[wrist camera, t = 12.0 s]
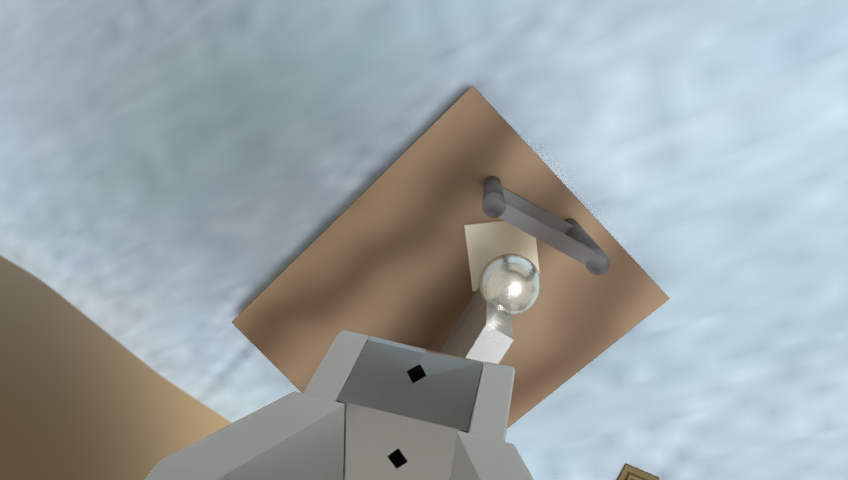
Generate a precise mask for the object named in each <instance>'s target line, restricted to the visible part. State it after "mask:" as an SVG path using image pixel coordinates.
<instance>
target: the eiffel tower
mask: <svg viewBox="0 0 848 480" xmlns="http://www.w3.org/2000/svg"><path fill="white" fill-rule="evenodd" d="M617 480H659V477H657V476H654V475H652V474H650V473H647V472H645V471H642V470H640V469H638V468H635V467H633V466H631V465H628V464H625V466H624V467H623V469H622V471H621V473H620V475H619V477H618V478H617Z"/></svg>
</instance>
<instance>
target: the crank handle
mask: <svg viewBox="0 0 848 480" xmlns="http://www.w3.org/2000/svg"><path fill="white" fill-rule="evenodd" d="M540 291H541V278H540V274H539V272H538V270H537V268H536V267H535V265H534V264H533V263H532V262H531V261H530V260H529V259H527V258H526V257H524V256H522V255H519V254H514V253H505V254H501V255H498V256H496V257H494V258H492V259H491V260H490V261H489V262H488V263H487V264H486V265H485V266H484V268H483V269H482V271H481V274H480V278H479V287H478V289H477V291H476V292H475V294H474V296H473V297H472V299H471V300H470V302H469V304H468V305H467V307H466V309H465V310H464V312H463V313H462V315H461V317H460V318H459V320H458V322H457V323H456V325H455V326H454V328H453V330H452V331H451V333H450V335H449V336H448V338H447V340H446V341H445V343H444V344H443V346H442V348H441V349H440V351H439V352H440V353H445V354H449V355H454V356H459V357H464V358H468V359H473V360H478V361H482V362H484V363H485V362H490V363H495V364H499V362H500V361H501V359H502V357H503V356H504V354H505V353H506V351H507V350H508V348H509V347H510V345H511V343H512V342H513V340H514V337H513V329H512V320H511V315H516V314H520V313H523V312H525V311H527V310H528V309H530V308H531V307H532V306H533V305H534V304H535V302H536V301H537V299H538V297H539V295H540ZM483 366H484V364H483Z"/></svg>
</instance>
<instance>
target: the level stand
mask: <svg viewBox="0 0 848 480" xmlns="http://www.w3.org/2000/svg"><path fill="white" fill-rule="evenodd" d="M505 253H514V254H519V255H522V256H524V257H526V258H527V259H529V260H530V261H531V262H532V263H533V264H534V265H535V267H536V268H537V270H538V272H539V274H540V278H541V291H540V295H539V297H538V299H537V301H536V302H535V304H534V305H533V306H532V307H531V308H530V309H528V310H527V311H525V312H523V313H520V314H516V315H511V320H512V329H513V337H514V340H513V342H512V343H511V345H510V347H509V348H508V350H507V351H506V353H505V354H504V356H503V357H502V359H501V361H500V362H499V364H501V365H506V366H511V367H514V370H515V375H514V382H513V389H512V396H511V402H510V409H509V416H508V422H507V428H508V427H510V426H511V425H512V424H513V423H515V422H516V421H517V420H518V419H520V418H521V417H522V416H523V415H525V414H526V413H527V412H528V411H530V410H531V409H532V408H533V407H535V406H536V405H537V404H538V403H540V402H541V401H542V400H543V399H545V398H546V397H547V396H548V395H550V394H551V393H552V392H553V391H555V390H556V389H557V388H558V387H560V386H561V385H562V384H563V383H565V382H566V381H567V380H568V379H570V378H571V377H572V376H573V375H575V374H576V373H577V372H579V371H580V370H581V369H582V368H584V367H585V366H586V365H587V364H589V363H590V362H591V361H592V360H594V359H595V358H596V357H597V356H599V355H600V354H601V353H602V352H604V351H605V350H606V349H607V348H609V347H610V346H611V345H612V344H614V343H615V342H616V341H617V340H619V339H620V338H621V337H622V336H624V335H625V334H626V333H627V332H629V331H630V330H631V329H632V328H634V327H635V326H636V325H637V324H639V323H640V322H641V321H642V320H644V319H645V318H646V317H647V316H649V315H650V314H651V313H652V312H654V311H655V310H656V309H657V308H659V307H660V306H661V305H662V304H664V303H665V302H666V301H667V300H669V299H670V298H669V297H668V296H667V295H666V294H665V293H664V292H663V291H662V290H661V289H660V288H659V286H658V285H657V284H656V283H655V282H654V281H653V280H652V279H651V278H650V277H649V276H648V275H647V273H646V272H645V271H644V270H643V269H642V268H641V267H640V266H639V265H638V264H637V263H636V262H635V260H634V259H633V258H632V257H631V256H630V255H629V254H628V253H627V252H626V251H625V250H624V249H623V247H622V246H621V245H620V244H619V243H618V242H617V241H616V240H615V239H614V238H613V237H612V236H611V234H610V233H609V232H608V231H607V230H606V229H605V228H604V227H603V226H602V225H601V224H600V223H599V221H598V220H597V219H596V218H595V217H594V216H593V215H592V214H591V213H590V212H589V211H588V210H587V209H586V207H585V206H584V205H583V204H582V203H581V202H580V201H579V200H578V199H577V198H576V197H575V196H574V194H573V193H572V192H571V191H570V190H569V189H568V188H567V187H566V186H565V185H564V184H563V183H562V181H561V180H560V179H559V178H558V177H557V176H556V175H555V174H554V173H553V172H552V171H551V170H550V168H549V167H548V166H547V165H546V164H545V163H544V162H543V161H542V160H541V159H540V158H539V157H538V155H537V154H536V153H535V152H534V151H533V150H532V149H531V148H530V147H529V146H528V145H527V144H526V142H525V141H524V140H523V139H522V138H521V137H520V136H519V135H518V134H517V133H516V132H515V131H514V130H513V128H512V127H511V126H510V125H509V124H508V123H507V122H506V121H505V120H504V119H503V118H502V117H501V115H500V114H499V113H498V112H497V111H496V110H495V109H494V108H493V107H492V106H491V105H490V104H489V102H488V101H487V100H486V99H485V98H484V97H483V96H482V95H481V94H480V93H479V92H478V91H477V89H476V88H475V87H474V86H472V87H471V88H470V89H469V90H468V91H467V92H466V93H465V94H464V95H463V96H462V97H461V98H460V99H459V100H458V101H457V102H456V103H454V104H453V105H452V106H451V107H450V108H449V109H448V110H447V111H446V112H445V113H444V114H443V115H442V116H441V117H440V118H439V119H438V120H437V121H436V122H435V123H434V124H433V125H432V126H431V127H430V128H429V129H428V130H427V131H426V132H425V133H424V134H423V135H422V136H421V137H420V138H419V139H418V140H417V141H416V142H415V143H414V144H413V145H412V146H411V147H410V148H409V149H408V150H407V151H406V152H405V153H404V154H402V155H401V156H400V157H399V158H398V159H397V160H396V161H395V162H394V163H393V164H392V165H391V166H390V167H389V168H388V169H387V170H386V171H385V172H384V173H383V174H382V175H381V176H380V177H379V178H378V179H377V180H376V181H375V182H374V183H373V184H372V185H371V186H370V187H369V188H368V189H367V190H366V191H365V192H364V193H363V194H362V195H361V196H360V197H359V198H358V199H357V200H356V201H355V202H354V203H353V204H352V205H350V206H349V207H348V208H347V209H346V210H345V211H344V212H343V213H342V214H341V215H340V216H339V217H338V218H337V219H336V220H335V221H334V222H333V223H332V224H331V225H330V226H329V227H328V228H327V229H326V230H325V231H324V232H323V233H322V234H321V235H320V236H319V237H318V238H317V239H316V240H315V241H314V242H313V243H312V244H311V245H310V246H309V247H308V248H307V249H306V250H305V251H304V252H303V253H302V254H301V255H300V256H298V257H297V258H296V259H295V260H294V261H293V262H292V263H291V264H290V265H289V266H288V267H287V268H286V269H285V270H284V271H283V272H282V273H281V274H280V275H279V276H278V277H277V278H276V279H275V280H274V281H273V282H272V283H271V284H270V285H269V286H268V287H267V288H266V289H265V290H264V291H263V292H262V293H261V294H260V295H259V296H258V297H257V298H256V299H255V300H254V301H253V302H252V303H251V304H250V305H249V306H248V307H247V308H245V309H244V310H243V311H242V312H241V313H240V314H239V315H238V316H237V317H236V318H235V319H234V320H233V321H232V323H233V324H234V325H235V326H236V327H237V328H238V329H239V330H240V331H241V332H242V333H243V334H244V335H245V336H246V337H247V338H248V339H249V340H250V341H251V342H252V343H253V344H254V345H255V346H256V347H257V348H258V349H259V350H260V351H261V352H262V353H263V354H264V355H265V356H266V357H267V358H268V359H269V360H270V361H271V362H272V363H273V364H274V365H275V366H276V367H277V368H278V369H279V370H280V371H281V372H282V373H283V374H284V375H285V376H286V377H287V378H288V379H289V380H290V381H291V382H292V383H293V384H294V385H295V386H296V387H297V388H298V389H299V390H300V391H301V392H302V393H303V392H304V390H305V389H306V387H307V385H308V384H309V382H310V380H311V378H312V377H313V375H314V373H315V372H316V370H317V368H318V367H319V365H320V363H321V362H322V360H323V358H324V357H325V355H326V353H327V352H328V350H329V348H330V347H331V345H332V343H333V341H334V340H335V338H336V336H337V335H338V334H339V333H340V332H342V331H343V330H346V331H350V332H354V333H359V334H363V335H367V336H370V337H371V336H373V337H377V338H381V339H385V340H389V341H394V342H398V343H402V344H406V345H410V346H414V347H418V348H422V349H426V350H431V351H435V352H439V351H440V349H441V348H442V346H443V344H444V343H445V341H446V340H447V338H448V336H449V335H450V333H451V331H452V330H453V328H454V326H455V325H456V323H457V322H458V320H459V318H460V317H461V315H462V313H463V312H464V310H465V309H466V307H467V305H468V304H469V302H470V300H471V299H472V297H473V296H474V294H475V292H476V291H477V289H478V287H479V278H480V274H481V271H482V269H483V268H484V266H485V265H486V264H487V263H488V262H489V261H490V260H491V259H492V258H494V257H496V256H498V255H501V254H505Z"/></svg>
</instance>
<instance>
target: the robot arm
mask: <svg viewBox="0 0 848 480" xmlns="http://www.w3.org/2000/svg"><path fill="white" fill-rule="evenodd" d="M483 364H484V366H483ZM514 375H515V370H514V367H511V366H506V365H501V364H495V363H490V362H485V363H484V362H482V361H478V360H473V359H468V358H464V357H459V356H454V355H449V354H445V353H440V352H435V351H431V350H426V349H422V348H418V347H414V346H410V345H406V344H402V343H398V342H394V341H389V340H385V339H381V338H377V337H373V336H371V337H370V336H367V335H363V334H359V333H354V332H350V331H346V330H343V331H342V332H340V333H339V334H338V335H337V336H336V338H335V340H334V341H333V343H332V345H331V347H330V348H329V350H328V352H327V353H326V355H325V357H324V358H323V360H322V362H321V363H320V365H319V367H318V368H317V370H316V372H315V373H314V375H313V377H312V378H311V380H310V382H309V384H308V385H307V387H306V389H305V390H304V392H303V393H299V392H292V393H290V394H288V395H286V396H285V397H283V398H281V399H279V400H277V401H275V402H273V403H271V404H269V405H267V406H265V407H263V408H261V409H259V410H257V411H255V412H253V413H251V414H249V415H247V416H246V417H244V418H242V419H240V420H238V421H236V422H234V423H232V424H230V425H228V426H226V427H224V428H222V429H220V430H218V431H216V432H214V433H213V434H210V435H209V436H207V437H205V438H203V439H201V440H199V441H197V442H195V443H193V444H191V445H189V446H187V447H185V448H183V449H181V450H179V451H177V452H176V453H173V454H171V455H170V456H168V457H166V458H164V459H162V460H160V461H159V462H158V463H157V464H156V466H155V467H154V468H153V469H152V471H151V472H150V473H149V474H148V476H147V477H146V478H145V480H534V479H533V477H532V475H531V474H530V472H529V470H528V468H527V467H526V465H525V463H524V461H523V460H522V458H521V456H520V454H519V453H518V451H517V449H516V447H515V446H514V444H510V443H506V442H505V436H506V429H507V422H508V416H509V409H510V402H511V396H512V389H513V382H514Z"/></svg>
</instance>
